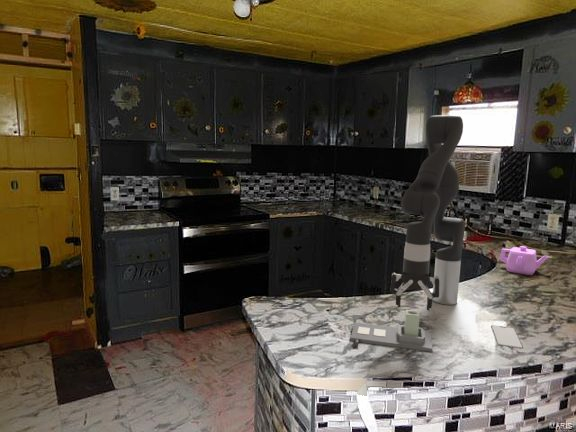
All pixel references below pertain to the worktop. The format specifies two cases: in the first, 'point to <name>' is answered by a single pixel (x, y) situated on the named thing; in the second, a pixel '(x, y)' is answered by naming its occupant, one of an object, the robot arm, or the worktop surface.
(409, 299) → the worktop surface
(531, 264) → the teakettle
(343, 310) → the worktop surface
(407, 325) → the block
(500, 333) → the smartphone
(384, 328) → the power strip
